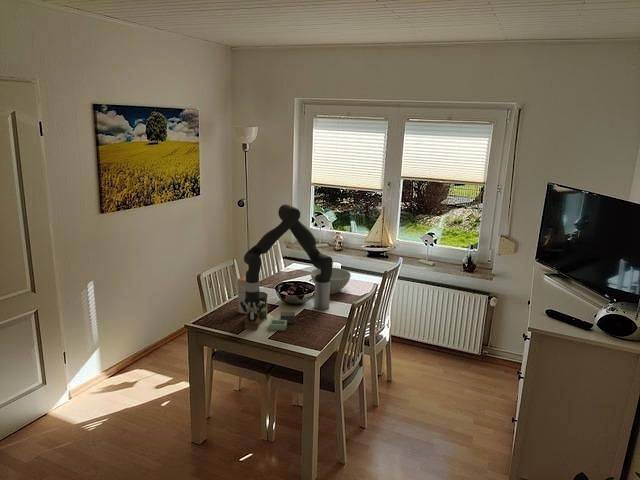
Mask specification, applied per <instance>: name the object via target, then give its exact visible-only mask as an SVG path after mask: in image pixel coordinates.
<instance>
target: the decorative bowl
mask: <svg viewBox="0 0 640 480" xmlns="http://www.w3.org/2000/svg"><path fill="white" fill-rule="evenodd" d="M320 273H321V270H320V269H318V268H315V269H313V270H311V271H310V277H311V280H312V282H313V283H314V285H315V276H316V275H317V274H320ZM350 280H351V273H350V272H349V270H346V269H343V268H338V267H332V276H331V278H330V295H332V294H337V293H340V290H343V289H344V288H345V287H346V285H347V284H348V283H349V281H350Z"/></svg>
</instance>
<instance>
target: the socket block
mask: <svg viewBox="0 0 640 480" xmlns="http://www.w3.org/2000/svg"><path fill="white" fill-rule="evenodd" d="M260 325H261V321H260V318H257V319H256V320H255V322H253V321H250V319H248V318H247V317H246V319H245V321H244V330H254V331H255V330H256V331H258V329H259V328H260Z"/></svg>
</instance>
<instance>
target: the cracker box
mask: <svg viewBox="0 0 640 480" xmlns="http://www.w3.org/2000/svg"><path fill="white" fill-rule="evenodd" d="M245 284H246V274H245V275H244V276H241V277H239V278H237V306H238V307H237V309H238V313H239V314H244V315H247V312H244V311H243V309H242V307H241V304H240V302H241V301H244V300H245ZM245 306H246V308H248V306H247V304H246V303H245Z"/></svg>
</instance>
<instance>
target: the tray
mask: <svg viewBox="0 0 640 480" xmlns="http://www.w3.org/2000/svg"><path fill="white" fill-rule="evenodd" d="M287 327H288V323H287V320H281V319H275V318H273V319H270V322H269V323H268V330H269V331H270V330H271V331H286V329H287Z"/></svg>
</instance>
